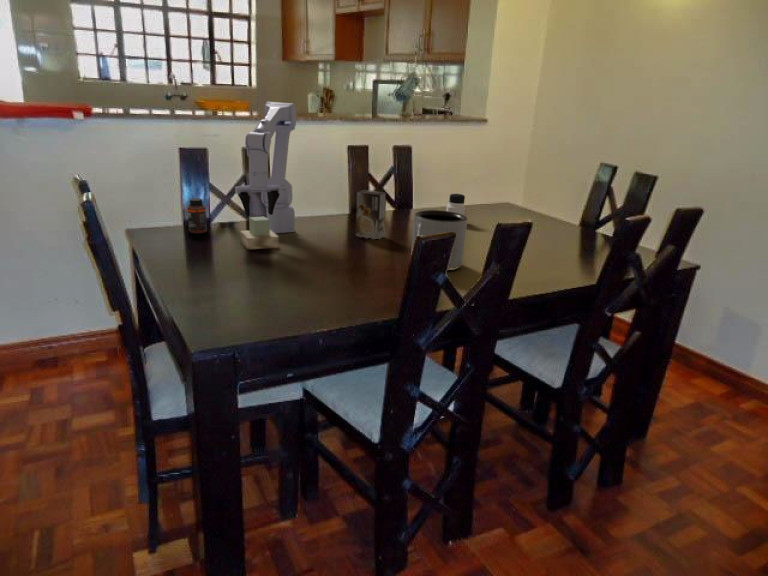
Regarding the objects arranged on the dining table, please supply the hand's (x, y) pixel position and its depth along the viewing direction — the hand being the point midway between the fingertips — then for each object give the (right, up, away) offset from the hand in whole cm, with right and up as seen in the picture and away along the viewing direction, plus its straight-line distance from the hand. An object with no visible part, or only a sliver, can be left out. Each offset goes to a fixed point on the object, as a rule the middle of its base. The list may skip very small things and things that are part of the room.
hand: (259, 214), depth 180 cm
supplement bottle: (-24, -4, +13) cm, 28 cm away
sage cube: (0, -6, +2) cm, 6 cm away
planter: (+56, -17, -7) cm, 59 cm away
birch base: (-1, -10, +3) cm, 10 cm away
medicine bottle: (+69, +3, +51) cm, 86 cm away
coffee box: (+35, -5, +21) cm, 41 cm away
